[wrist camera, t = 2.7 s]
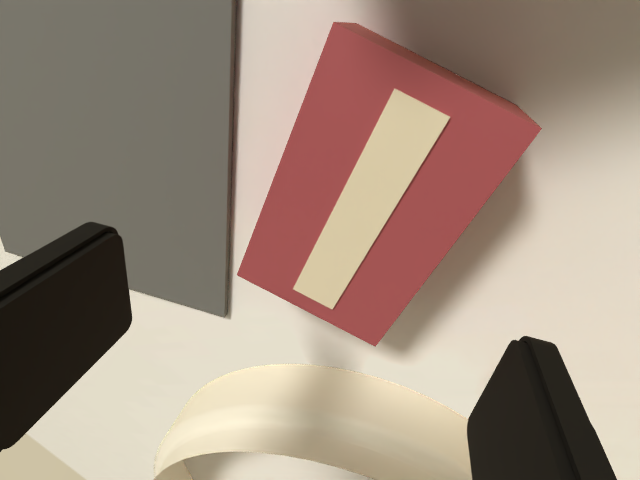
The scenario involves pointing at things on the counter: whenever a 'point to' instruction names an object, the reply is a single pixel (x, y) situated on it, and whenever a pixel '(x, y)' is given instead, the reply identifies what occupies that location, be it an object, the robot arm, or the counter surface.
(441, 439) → the cream hollow ring
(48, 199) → the mat
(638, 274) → the counter surface
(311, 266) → the card box
